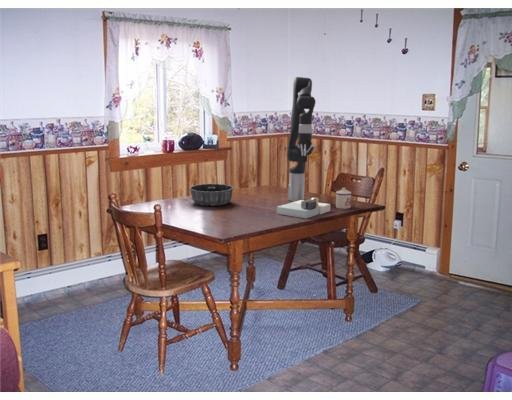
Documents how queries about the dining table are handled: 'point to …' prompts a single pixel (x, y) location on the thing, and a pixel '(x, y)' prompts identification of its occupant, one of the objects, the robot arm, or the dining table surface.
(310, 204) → the block
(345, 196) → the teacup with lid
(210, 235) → the dining table surface
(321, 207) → the jamb block
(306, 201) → the bar
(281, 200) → the dining table surface
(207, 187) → the bundt pan
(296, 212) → the door leaf
